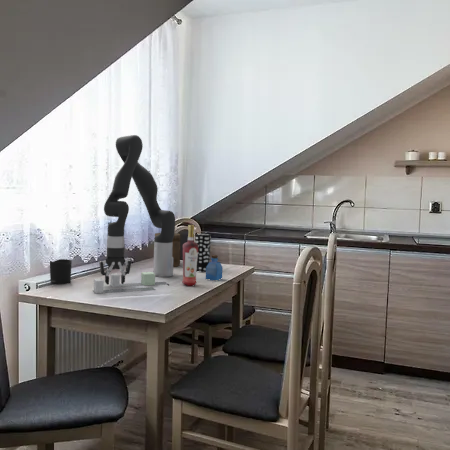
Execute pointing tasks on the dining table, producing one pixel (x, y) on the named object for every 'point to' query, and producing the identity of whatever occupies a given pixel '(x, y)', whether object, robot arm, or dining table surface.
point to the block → (148, 278)
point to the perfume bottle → (214, 269)
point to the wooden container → (175, 249)
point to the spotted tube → (203, 251)
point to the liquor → (190, 259)
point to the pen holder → (60, 271)
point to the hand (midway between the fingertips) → (114, 283)
